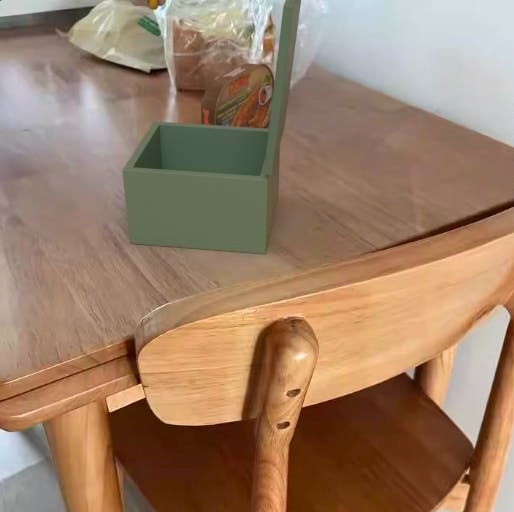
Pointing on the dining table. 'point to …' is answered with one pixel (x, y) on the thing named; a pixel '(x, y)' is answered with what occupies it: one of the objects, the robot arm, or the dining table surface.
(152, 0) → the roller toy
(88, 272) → the dining table surface
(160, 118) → the dining table surface
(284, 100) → the lid
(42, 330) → the dining table surface
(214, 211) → the chest
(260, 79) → the tin
